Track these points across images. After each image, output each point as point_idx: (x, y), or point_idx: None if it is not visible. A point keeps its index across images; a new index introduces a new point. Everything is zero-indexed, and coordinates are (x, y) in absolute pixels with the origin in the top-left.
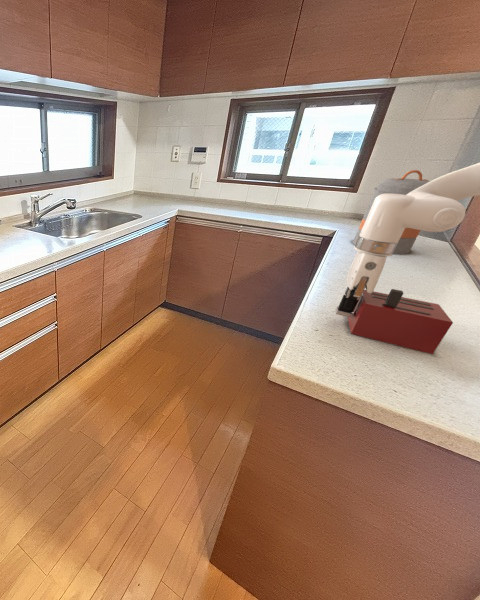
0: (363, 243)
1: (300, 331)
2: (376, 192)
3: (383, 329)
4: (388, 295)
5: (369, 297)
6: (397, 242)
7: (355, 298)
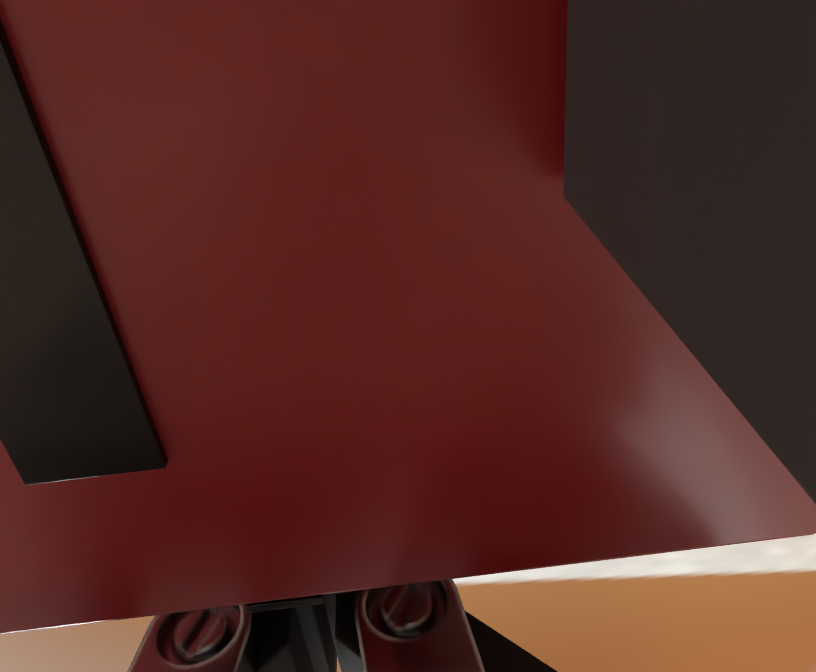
0: None
1: (769, 541)
2: None
3: None
4: (750, 380)
5: (281, 502)
6: None
7: (487, 639)
